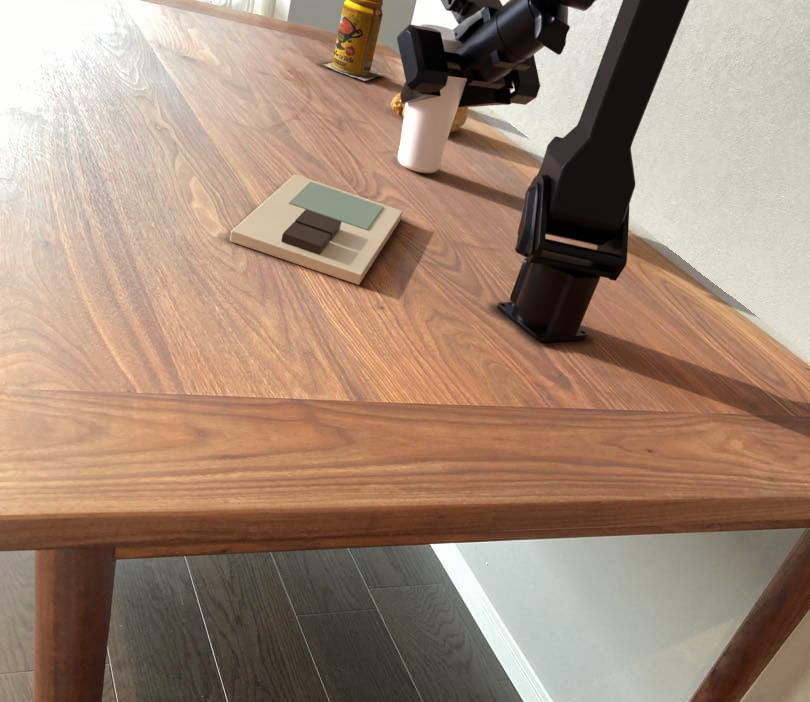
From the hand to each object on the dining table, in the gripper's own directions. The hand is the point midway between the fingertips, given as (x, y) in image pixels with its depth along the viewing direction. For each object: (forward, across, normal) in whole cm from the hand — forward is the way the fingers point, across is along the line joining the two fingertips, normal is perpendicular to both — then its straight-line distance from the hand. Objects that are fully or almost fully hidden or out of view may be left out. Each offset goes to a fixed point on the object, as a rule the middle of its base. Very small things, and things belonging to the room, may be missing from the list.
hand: (426, 101), depth 110 cm
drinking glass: (+4, 0, +6) cm, 8 cm away
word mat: (-8, +25, +19) cm, 32 cm away
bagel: (+17, -15, -6) cm, 23 cm away
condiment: (+32, -17, -21) cm, 42 cm away
